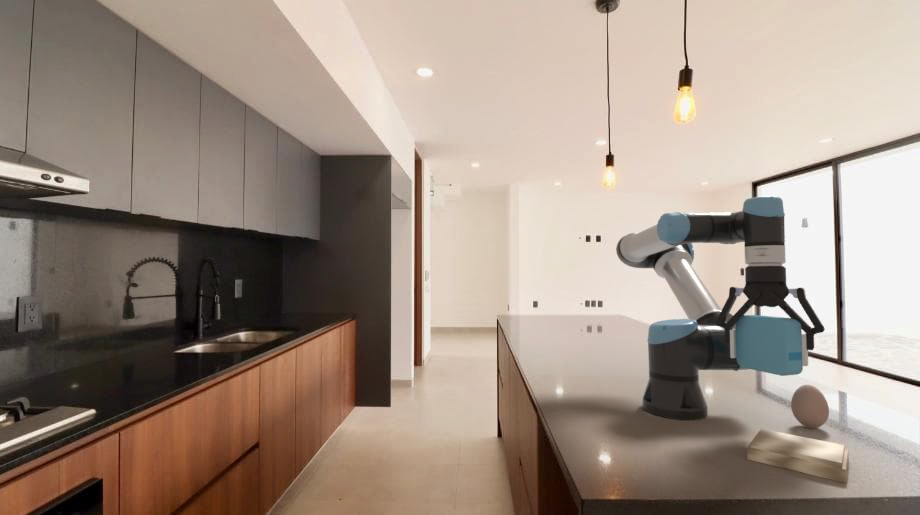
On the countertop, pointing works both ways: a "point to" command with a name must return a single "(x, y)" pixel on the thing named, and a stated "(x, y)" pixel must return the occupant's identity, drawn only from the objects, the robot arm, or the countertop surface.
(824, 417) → the egg
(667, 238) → the robot arm
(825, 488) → the countertop surface
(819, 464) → the stand
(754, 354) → the blue box
